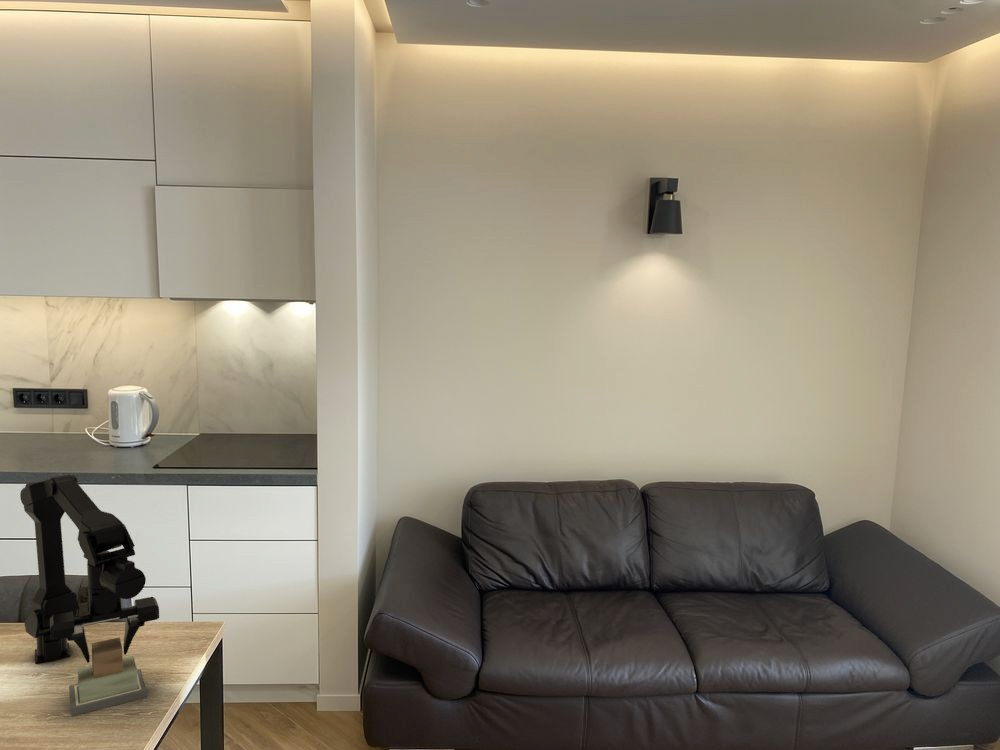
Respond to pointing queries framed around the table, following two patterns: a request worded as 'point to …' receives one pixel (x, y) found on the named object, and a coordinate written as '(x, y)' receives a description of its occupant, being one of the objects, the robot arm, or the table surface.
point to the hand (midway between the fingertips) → (106, 657)
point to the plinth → (106, 698)
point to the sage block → (107, 681)
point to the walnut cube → (107, 657)
